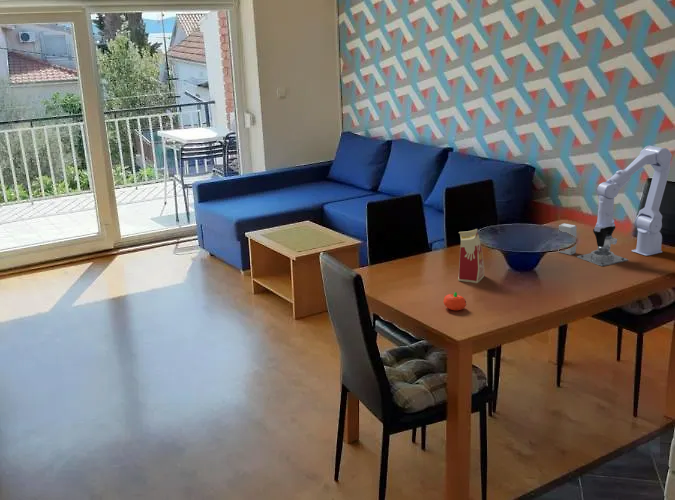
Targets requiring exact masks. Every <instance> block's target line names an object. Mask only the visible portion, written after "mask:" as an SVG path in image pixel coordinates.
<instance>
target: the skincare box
mask: <svg viewBox="0 0 675 500" xmlns="http://www.w3.org/2000/svg"><path fill="white" fill-rule="evenodd" d="M559 230H560V231H562V232H567V233H569V234H571V235H573V236H575V237H576V238H577V225H575V224H570V223H561V224H559V225H558V231H559ZM559 253H560V254H566V255H570V256H571V255H574V254H576V253H577V244H576V245H575V246H574V247H572V248H570V249H568V250H565V251H560V252H559Z"/></svg>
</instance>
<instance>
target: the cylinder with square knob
mask: <svg viewBox="0 0 675 500" xmlns="http://www.w3.org/2000/svg"><path fill="white" fill-rule="evenodd" d="M612 235H613V234H612ZM612 235H609V234H607V235H606V237H605V242H604V246H603V247H599V246H597V248H596V250H600V251H605V252H607V251H611V245H614V246H615V245H616V244H617V242H618V238H615V237H613V236H612Z"/></svg>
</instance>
